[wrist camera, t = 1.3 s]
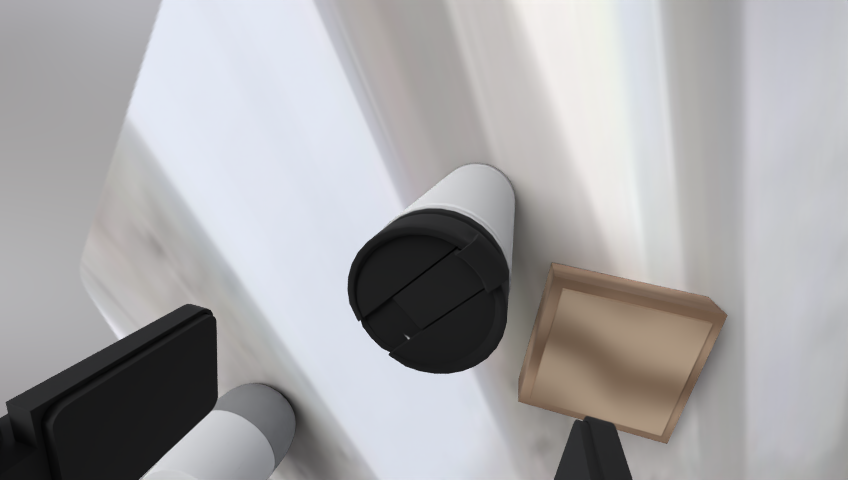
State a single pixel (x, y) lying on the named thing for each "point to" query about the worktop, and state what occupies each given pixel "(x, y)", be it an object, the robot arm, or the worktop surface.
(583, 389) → the plinth
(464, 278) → the travel mug
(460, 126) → the worktop surface
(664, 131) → the worktop surface
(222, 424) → the smart speaker
